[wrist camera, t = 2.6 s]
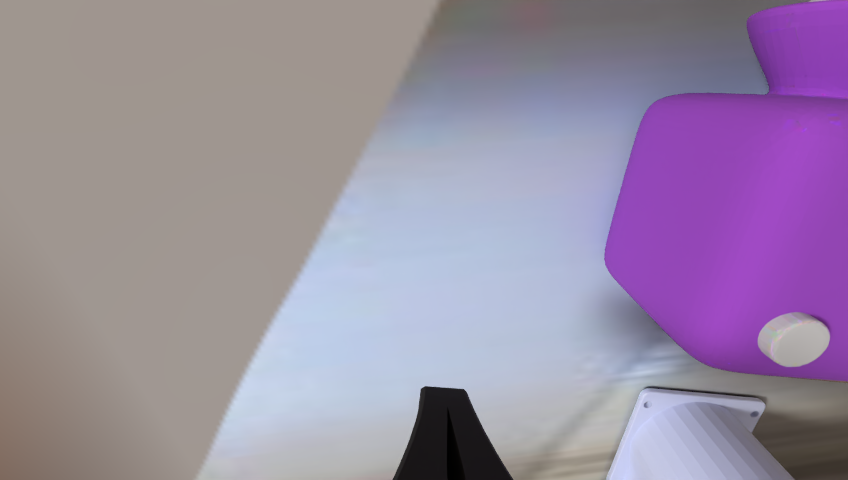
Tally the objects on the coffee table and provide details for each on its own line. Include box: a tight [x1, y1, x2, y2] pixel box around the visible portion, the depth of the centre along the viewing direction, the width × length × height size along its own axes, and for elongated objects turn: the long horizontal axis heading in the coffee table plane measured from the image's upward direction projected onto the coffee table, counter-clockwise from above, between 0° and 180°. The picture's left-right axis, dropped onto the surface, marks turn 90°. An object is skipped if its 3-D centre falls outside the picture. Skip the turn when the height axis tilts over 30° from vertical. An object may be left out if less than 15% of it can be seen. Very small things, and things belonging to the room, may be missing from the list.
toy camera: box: [605, 0, 848, 381], centre depth 16 cm, size 11×14×10 cm
